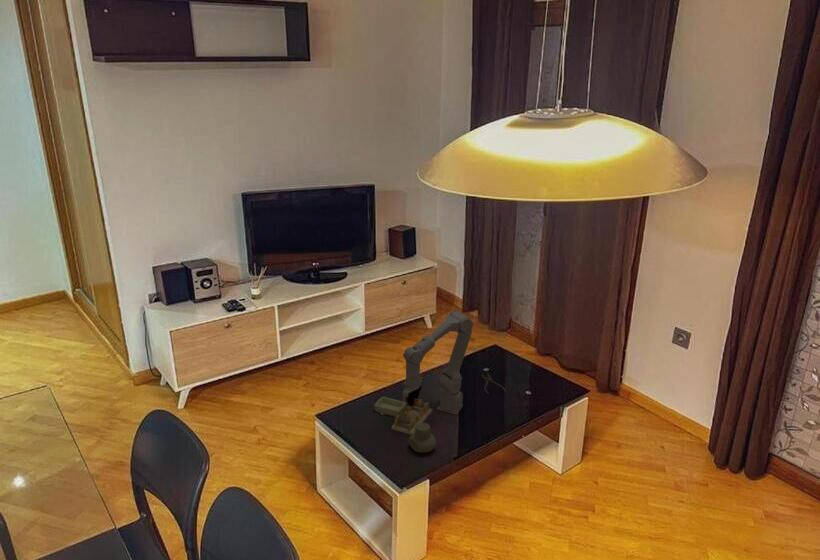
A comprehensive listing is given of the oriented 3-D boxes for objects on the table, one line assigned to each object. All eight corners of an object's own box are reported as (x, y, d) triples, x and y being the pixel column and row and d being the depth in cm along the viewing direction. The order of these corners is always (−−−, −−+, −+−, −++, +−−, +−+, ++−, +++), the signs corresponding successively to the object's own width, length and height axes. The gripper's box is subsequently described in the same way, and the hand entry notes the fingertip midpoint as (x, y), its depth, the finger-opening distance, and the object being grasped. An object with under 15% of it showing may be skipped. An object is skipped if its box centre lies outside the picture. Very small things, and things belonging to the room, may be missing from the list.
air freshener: (438, 451, 242) (439, 430, 238) (421, 458, 238) (421, 436, 234) (423, 438, 250) (423, 416, 247) (406, 444, 246) (406, 422, 243)
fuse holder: (432, 411, 269) (432, 402, 267) (412, 435, 252) (412, 426, 250) (412, 406, 273) (412, 397, 271) (391, 429, 256) (391, 420, 254)
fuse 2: (428, 407, 267) (428, 401, 266) (425, 410, 265) (426, 405, 264) (412, 403, 270) (412, 397, 269) (409, 406, 268) (410, 400, 267)
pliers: (489, 395, 281) (469, 375, 299) (489, 396, 282) (469, 376, 299) (508, 391, 285) (486, 371, 302) (508, 392, 285) (486, 373, 303)
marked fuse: (422, 404, 259) (422, 398, 258) (419, 407, 257) (419, 401, 256) (405, 399, 262) (405, 393, 261) (402, 403, 260) (402, 397, 259)
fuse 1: (414, 424, 255) (415, 417, 254) (411, 427, 253) (412, 421, 252) (398, 419, 258) (398, 413, 257) (395, 422, 256) (395, 416, 255)
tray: (406, 408, 271) (406, 402, 270) (398, 417, 264) (398, 411, 263) (382, 402, 275) (382, 396, 274) (373, 411, 269) (373, 405, 268)
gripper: (411, 365, 263) (411, 393, 267) (396, 380, 250) (396, 409, 255) (426, 369, 260) (426, 397, 264) (412, 384, 247) (411, 413, 252)
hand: (412, 403), depth 260 cm, fingers closed on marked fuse, 2 cm apart
